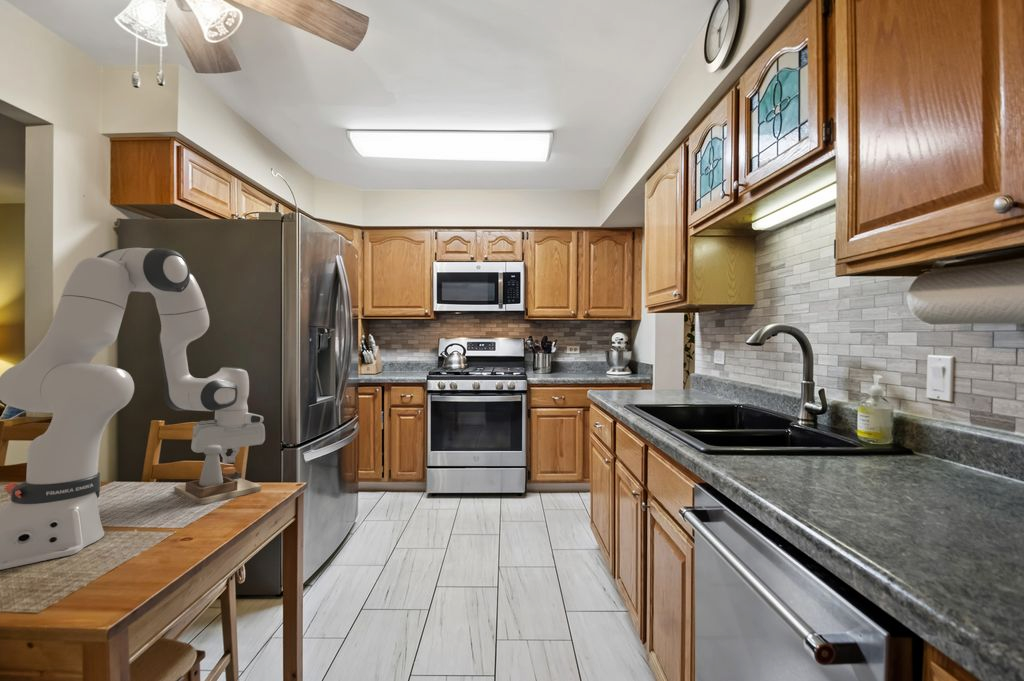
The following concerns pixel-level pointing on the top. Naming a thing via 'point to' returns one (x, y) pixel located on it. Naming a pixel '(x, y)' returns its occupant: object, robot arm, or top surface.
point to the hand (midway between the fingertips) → (228, 462)
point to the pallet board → (217, 489)
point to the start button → (229, 471)
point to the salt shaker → (211, 467)
